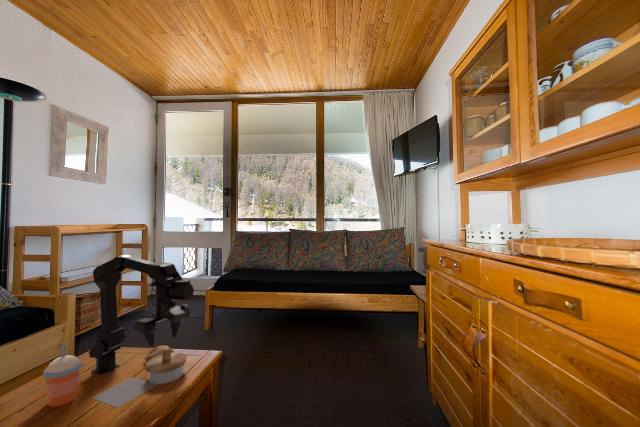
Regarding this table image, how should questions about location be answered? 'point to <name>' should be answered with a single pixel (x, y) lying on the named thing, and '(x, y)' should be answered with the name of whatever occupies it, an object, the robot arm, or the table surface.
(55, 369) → the cup with straw
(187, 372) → the table surface
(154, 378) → the bowl
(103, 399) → the mat
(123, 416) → the table surface
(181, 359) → the lid
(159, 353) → the bread roll
